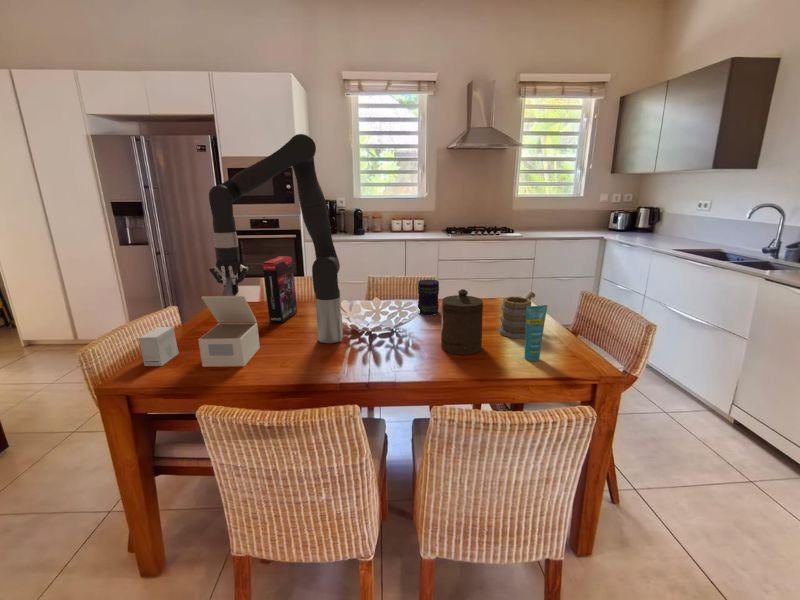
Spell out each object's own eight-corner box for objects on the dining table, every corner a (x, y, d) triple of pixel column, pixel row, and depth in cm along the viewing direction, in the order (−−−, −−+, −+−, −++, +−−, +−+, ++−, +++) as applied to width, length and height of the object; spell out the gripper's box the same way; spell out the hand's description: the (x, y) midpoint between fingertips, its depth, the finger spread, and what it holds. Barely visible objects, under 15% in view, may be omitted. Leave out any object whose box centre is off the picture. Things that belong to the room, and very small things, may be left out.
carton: (259, 347, 151) (257, 322, 148) (244, 366, 135) (240, 338, 132) (222, 348, 150) (218, 322, 148) (202, 366, 135) (198, 338, 132)
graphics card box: (282, 324, 177) (277, 262, 169) (267, 323, 178) (261, 262, 170) (297, 312, 193) (293, 256, 185) (284, 311, 194) (279, 255, 186)
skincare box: (161, 353, 146) (156, 326, 143) (179, 354, 146) (174, 326, 143) (143, 366, 136) (137, 337, 133) (161, 366, 136) (156, 337, 133)
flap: (256, 321, 147) (261, 298, 153) (243, 297, 135) (250, 273, 141) (218, 322, 147) (225, 298, 153) (201, 297, 135) (210, 273, 141)
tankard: (519, 340, 156) (522, 303, 151) (492, 332, 165) (494, 297, 161) (546, 329, 168) (550, 294, 164) (520, 321, 177) (522, 288, 173)
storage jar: (439, 315, 186) (440, 284, 182) (418, 315, 187) (418, 284, 182) (437, 309, 196) (438, 279, 192) (417, 309, 196) (417, 279, 192)
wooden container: (457, 337, 160) (459, 283, 154) (489, 347, 150) (492, 289, 144) (432, 347, 150) (433, 290, 144) (465, 358, 140) (467, 297, 134)
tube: (525, 362, 136) (530, 308, 131) (518, 356, 141) (522, 304, 136) (545, 360, 138) (550, 306, 133) (537, 354, 143) (542, 302, 137)
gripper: (250, 244, 142) (255, 292, 146) (211, 244, 142) (217, 292, 146) (242, 246, 135) (247, 297, 139) (201, 247, 135) (207, 297, 139)
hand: (231, 294), depth 143 cm, fingers closed on flap
